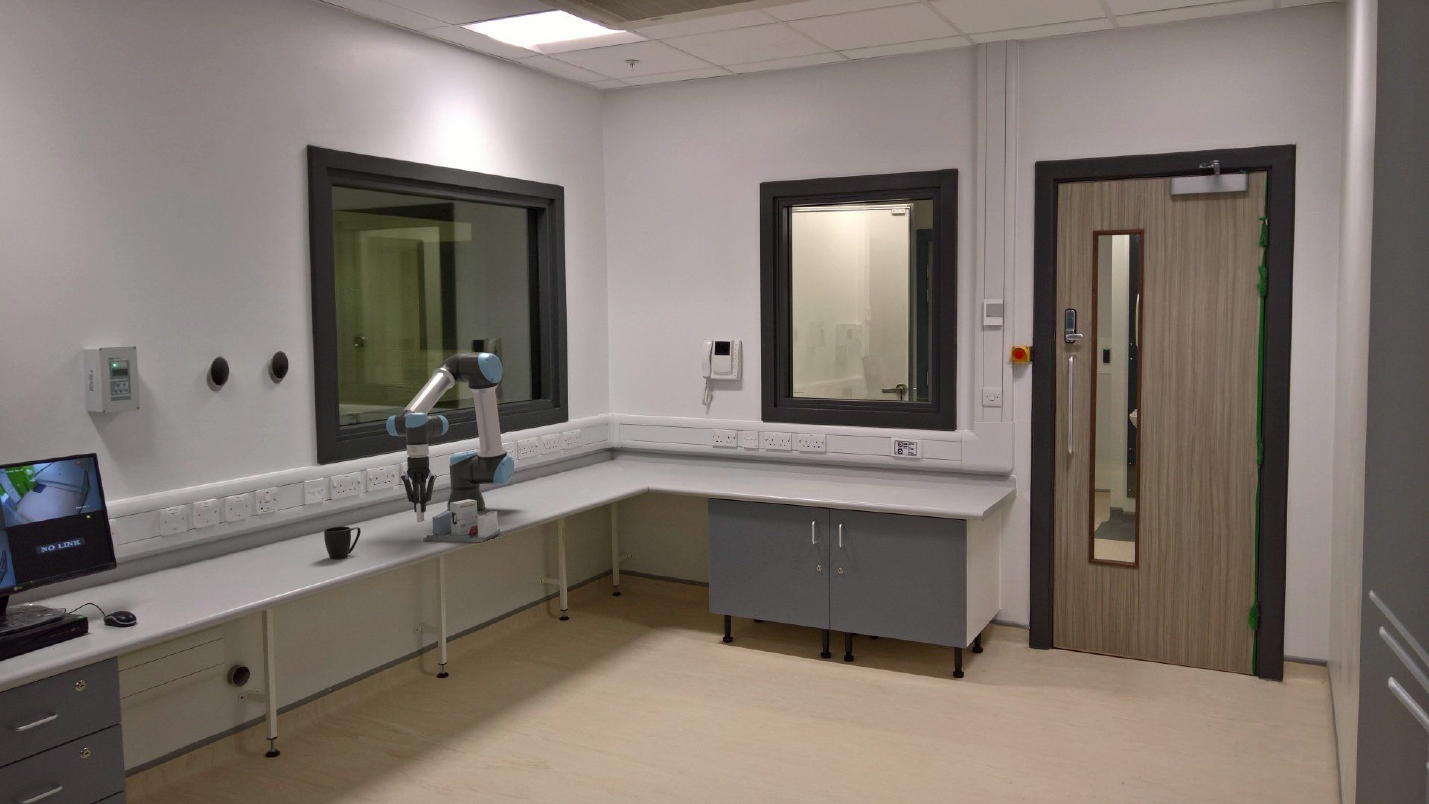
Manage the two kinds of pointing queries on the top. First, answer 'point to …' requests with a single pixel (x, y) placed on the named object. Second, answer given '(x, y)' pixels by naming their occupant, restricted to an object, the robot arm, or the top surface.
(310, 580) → the top surface
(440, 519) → the block
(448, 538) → the base
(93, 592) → the top surface
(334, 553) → the mug
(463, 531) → the ink box
